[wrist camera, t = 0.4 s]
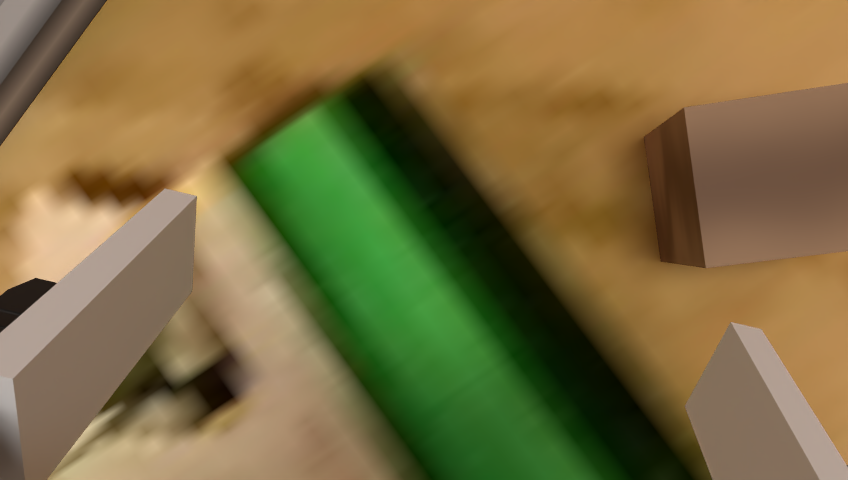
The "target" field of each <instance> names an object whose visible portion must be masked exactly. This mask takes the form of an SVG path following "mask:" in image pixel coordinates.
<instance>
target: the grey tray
mask: <svg viewBox="0 0 848 480" xmlns="http://www.w3.org/2000/svg"><path fill="white" fill-rule="evenodd" d="M105 2H106V0H0V145H1V144H2V142H3V141H4V140H5V138H6V137H7V136H8V134H9V133H10V131H11V130H12V129H13V127H14V126H15V125H16V123H17V122H18V120H19V119H20V118H21V116H22V115H23V114H24V112H25V111H26V110H27V108H28V107H29V105H30V104H31V103H32V101H33V100H34V99H35V97H36V96H37V95H38V93H39V92H40V90H41V89H42V88H43V86H44V85H45V84H46V82H47V81H48V80H49V78H50V77H51V75H52V74H53V73H54V71H55V70H56V69H57V67H58V66H59V64H60V63H61V62H62V60H63V59H64V58H65V56H66V55H67V54H68V52H69V51H70V49H71V48H72V47H73V45H74V44H75V43H76V41H77V40H78V39H79V37H80V36H81V34H82V33H83V32H84V30H85V29H86V28H87V26H88V25H89V23H90V22H91V21H92V19H93V18H94V17H95V15H96V14H97V13H98V11H99V10H100V8H101V7H102V6H103V4H104V3H105Z"/></svg>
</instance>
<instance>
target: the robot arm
mask: <svg viewBox="0 0 848 480" xmlns="http://www.w3.org/2000/svg"><path fill="white" fill-rule="evenodd" d="M196 201H197V196H194V195H190V194H186V193H181V192H177V191H173V190H169V189H164V190H163V191H162V192H161V193H160V194H158V195H157V196H156V197H155V198H154V199H153V200H152V201H150V202H149V203H148V204H147V205H146V206H145V207H144V208H142V209H141V210H140V211H139V212H138V213H137V214H136V215H134V216H133V217H132V218H131V219H130V220H129V221H128V222H126V223H125V224H124V225H123V226H122V227H121V228H120V229H118V230H117V231H116V232H115V233H114V234H113V235H112V236H110V237H109V238H108V239H107V240H106V241H105V242H104V243H102V244H101V245H100V246H99V247H98V248H97V249H96V250H94V251H93V252H92V253H91V254H90V255H89V256H88V257H86V258H85V259H84V260H83V261H82V262H81V263H80V264H78V265H77V266H76V267H75V268H74V269H73V270H72V271H70V272H69V273H68V274H67V275H66V276H65V277H64V278H62V279H61V280H60V281H59V282H58V283H55V282H51V281H46V280H42V279H38V278H35V279H32V280H30V281H27V282H25V283H23V284H20V285H18V286H15V287H13V288H11V289H8V290H7V291H6V292H4V293H3V294H2V295H1V296H0V480H47V478H48V477H49V476H50V474H51V473H52V472H53V471H54V469H55V468H56V467H57V465H58V464H59V463H60V462H61V460H62V459H63V458H64V456H65V455H66V454H67V452H68V451H69V450H70V449H71V447H72V446H73V445H74V443H75V442H76V441H77V440H78V438H79V437H80V436H81V434H82V433H83V432H84V430H85V429H86V428H87V427H88V425H89V424H90V423H91V421H92V420H93V419H94V418H95V416H96V415H97V414H98V412H99V411H100V410H101V408H102V407H103V406H104V405H105V403H106V402H107V401H108V399H109V398H110V397H111V396H112V394H113V393H114V392H115V390H116V389H117V388H118V386H119V385H120V384H121V383H122V381H123V380H124V379H125V377H126V376H127V375H128V374H129V372H130V371H131V370H132V368H133V367H134V366H135V364H136V363H137V362H138V361H139V359H140V358H141V357H142V355H143V354H144V353H145V352H146V350H147V349H148V348H149V346H150V345H151V344H152V342H153V341H154V340H155V339H156V337H157V336H158V335H159V333H160V332H161V331H162V330H163V328H164V327H165V326H166V324H167V323H168V322H169V320H170V319H171V318H172V317H173V315H174V314H175V313H176V311H177V310H178V309H179V308H180V306H181V305H182V304H183V302H184V301H185V300H186V298H187V297H188V296H189V295H190V293H191V292H192V284H193V263H194V242H195V222H196ZM685 408H686V411H687V413H688V416H689V419H690V421H691V424H692V426H693V429H694V432H695V434H696V437H697V440H698V442H699V445H700V448H701V450H702V453H703V455H704V458H705V461H706V463H707V466H708V469H709V471H710V474H711V477H712V479H713V480H848V465H846V463H845V462H844V460H843V459H842V457H841V455H840V454H839V452H838V451H837V449H836V447H835V446H834V444H833V443H832V441H831V439H830V438H829V436H828V435H827V433H826V431H825V430H824V428H823V427H822V425H821V423H820V422H819V420H818V419H817V417H816V416H815V414H814V412H813V411H812V409H811V408H810V406H809V404H808V403H807V401H806V400H805V398H804V396H803V395H802V393H801V392H800V390H799V388H798V387H797V385H796V384H795V382H794V380H793V379H792V377H791V376H790V374H789V372H788V371H787V369H786V368H785V366H784V364H783V363H782V361H781V360H780V358H779V356H778V355H777V353H776V352H775V350H774V348H773V347H772V345H771V344H770V342H769V340H768V339H767V337H766V336H765V334H764V332H763V331H762V329H758V328H754V327H750V326H745V325H741V324H737V323H733V322H731V323H730V324H729V326H728V328H727V330H726V332H725V334H724V335H723V337H722V339H721V341H720V343H719V345H718V346H717V348H716V350H715V352H714V354H713V356H712V357H711V359H710V361H709V363H708V365H707V367H706V368H705V370H704V372H703V374H702V376H701V378H700V379H699V381H698V383H697V385H696V387H695V388H694V390H693V392H692V394H691V396H690V398H689V399H688V401H687V403H686V405H685Z"/></svg>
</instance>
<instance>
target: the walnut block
mask: <svg viewBox="0 0 848 480" xmlns="http://www.w3.org/2000/svg"><path fill="white" fill-rule="evenodd" d="M644 141H645V148H646V156H647V163H648V170H649V178H650V185H651V193H652V200H653V207H654V215H655V222H656V229H657V237H658V244H659V252H660V259H661V261H662V262H669V263H675V264H682V265H689V266H696V267H702V268H710V267H719V266H727V265H735V264H744V263H752V262H760V261H769V260H777V259H785V258H794V257H802V256H810V255H819V254H827V253H835V252H844V251H848V83H845V84H838V85H831V86H825V87H818V88H811V89H805V90H798V91H791V92H785V93H778V94H771V95H765V96H758V97H751V98H745V99H738V100H732V101H725V102H718V103H712V104H705V105H698V106H692V107H685V108H683V109H682V110H680V111H679V112H677V113H676V114H675V115H673V116H672V117H671V118H669V119H668V120H666V121H665V122H664V123H662V124H661V125H660V126H658V127H657V128H655V129H654V130H653V131H651V132H650V133H649V134H647V135H646V136H645V137H644Z"/></svg>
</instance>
